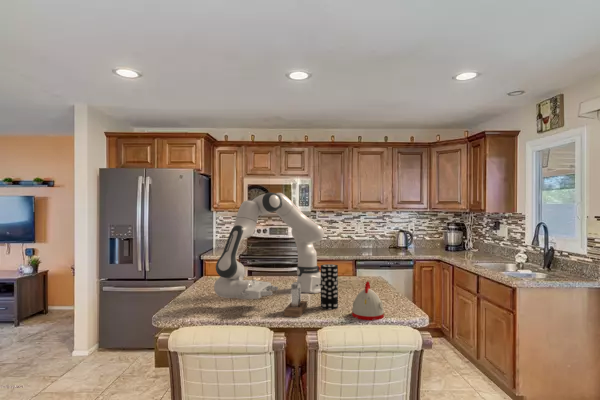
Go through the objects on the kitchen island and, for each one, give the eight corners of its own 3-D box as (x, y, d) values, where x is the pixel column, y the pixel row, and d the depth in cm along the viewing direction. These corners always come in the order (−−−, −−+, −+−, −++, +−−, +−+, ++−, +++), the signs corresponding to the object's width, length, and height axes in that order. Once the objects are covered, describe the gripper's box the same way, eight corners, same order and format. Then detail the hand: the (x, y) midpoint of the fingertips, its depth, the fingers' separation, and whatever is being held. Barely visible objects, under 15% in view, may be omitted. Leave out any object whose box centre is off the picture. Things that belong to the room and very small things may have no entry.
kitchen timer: (349, 318, 157) (348, 283, 157) (355, 309, 170) (355, 277, 170) (381, 321, 152) (381, 286, 152) (385, 312, 165) (385, 279, 165)
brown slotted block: (293, 306, 176) (292, 300, 176) (307, 307, 174) (307, 301, 174) (284, 316, 160) (284, 309, 160) (299, 317, 158) (299, 310, 158)
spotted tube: (320, 304, 178) (320, 264, 179) (337, 304, 178) (337, 264, 179) (321, 309, 170) (320, 266, 171) (338, 309, 170) (338, 267, 170)
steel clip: (294, 309, 170) (294, 281, 171) (300, 309, 170) (300, 282, 170) (291, 313, 164) (291, 284, 164) (297, 313, 164) (297, 284, 164)
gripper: (238, 287, 162) (268, 288, 159) (254, 278, 182) (280, 279, 179) (238, 301, 162) (268, 303, 159) (254, 291, 182) (280, 292, 179)
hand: (275, 290), depth 169 cm, fingers open, 8 cm apart
